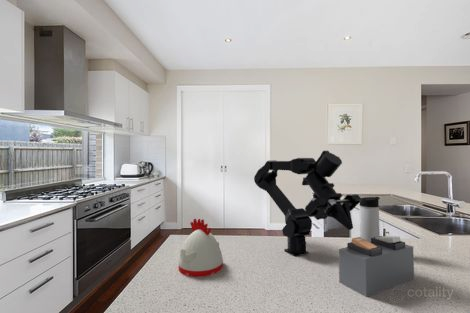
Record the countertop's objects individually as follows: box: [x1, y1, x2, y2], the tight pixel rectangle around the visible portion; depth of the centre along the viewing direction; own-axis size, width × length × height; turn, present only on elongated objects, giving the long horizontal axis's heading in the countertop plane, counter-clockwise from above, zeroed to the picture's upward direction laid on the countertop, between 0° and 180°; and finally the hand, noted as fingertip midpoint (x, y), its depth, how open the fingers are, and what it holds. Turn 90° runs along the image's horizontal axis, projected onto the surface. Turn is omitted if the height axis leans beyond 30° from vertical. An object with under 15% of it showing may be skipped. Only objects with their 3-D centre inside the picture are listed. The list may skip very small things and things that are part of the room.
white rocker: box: [375, 235, 401, 243], centre depth 70 cm, size 5×3×1 cm, turn 26°
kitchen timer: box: [178, 218, 224, 278], centre depth 78 cm, size 14×14×15 cm
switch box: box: [338, 235, 415, 297], centre depth 68 cm, size 8×20×10 cm, turn 116°
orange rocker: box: [350, 236, 377, 250], centre depth 66 cm, size 5×3×1 cm, turn 26°
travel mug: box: [358, 196, 381, 242], centre depth 89 cm, size 6×7×20 cm
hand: (351, 229), depth 69 cm, fingers closed
